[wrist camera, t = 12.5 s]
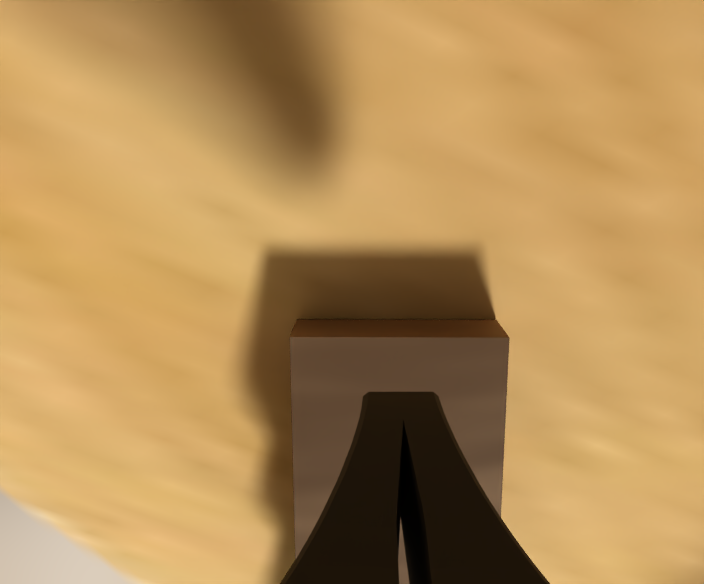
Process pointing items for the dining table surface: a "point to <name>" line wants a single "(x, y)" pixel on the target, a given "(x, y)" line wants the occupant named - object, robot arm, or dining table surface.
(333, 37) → the dining table surface
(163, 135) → the dining table surface
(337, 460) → the domino
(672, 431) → the dining table surface
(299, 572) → the robot arm
